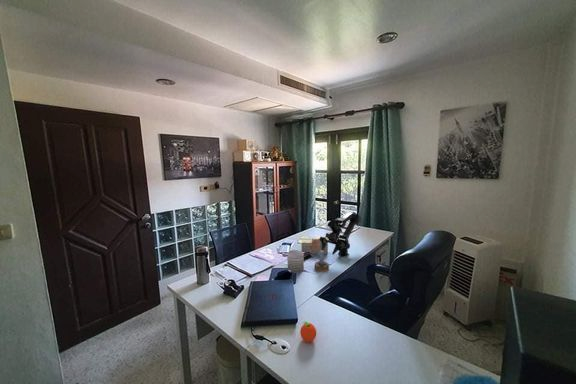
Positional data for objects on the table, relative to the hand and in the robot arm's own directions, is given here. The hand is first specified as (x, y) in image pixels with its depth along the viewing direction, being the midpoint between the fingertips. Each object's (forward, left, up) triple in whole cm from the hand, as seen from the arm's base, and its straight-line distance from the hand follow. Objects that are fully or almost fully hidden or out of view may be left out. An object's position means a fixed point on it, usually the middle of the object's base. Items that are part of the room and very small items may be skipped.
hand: (327, 252), depth 165 cm
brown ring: (+7, +2, -9) cm, 12 cm away
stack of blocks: (-7, -24, -10) cm, 26 cm away
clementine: (+53, +48, -9) cm, 72 cm away
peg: (+7, +2, -9) cm, 12 cm away
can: (+23, -7, -9) cm, 25 cm away
